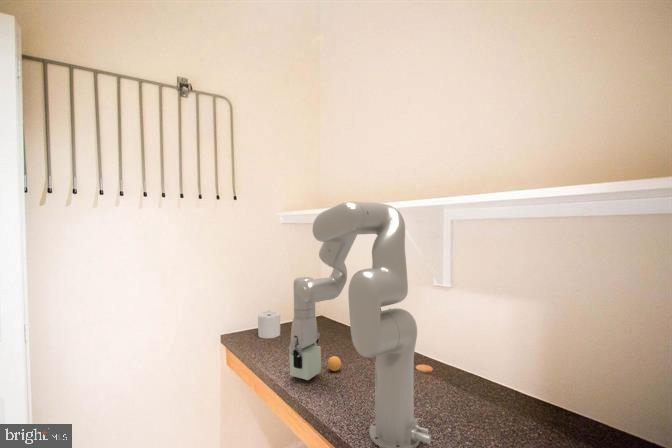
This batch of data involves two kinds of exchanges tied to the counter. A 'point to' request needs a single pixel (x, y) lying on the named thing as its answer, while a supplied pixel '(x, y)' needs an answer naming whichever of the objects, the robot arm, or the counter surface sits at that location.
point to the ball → (334, 363)
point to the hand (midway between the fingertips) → (305, 363)
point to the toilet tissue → (269, 324)
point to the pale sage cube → (307, 363)
